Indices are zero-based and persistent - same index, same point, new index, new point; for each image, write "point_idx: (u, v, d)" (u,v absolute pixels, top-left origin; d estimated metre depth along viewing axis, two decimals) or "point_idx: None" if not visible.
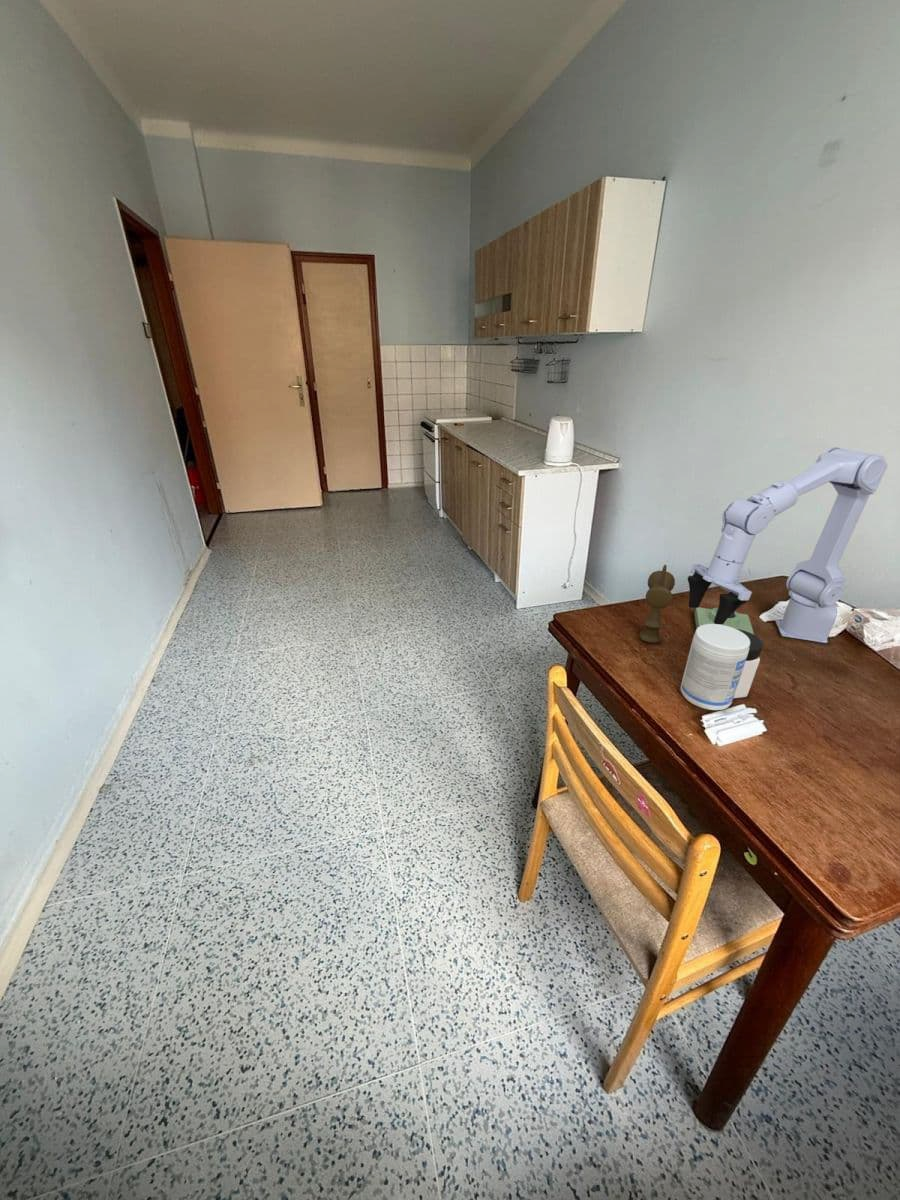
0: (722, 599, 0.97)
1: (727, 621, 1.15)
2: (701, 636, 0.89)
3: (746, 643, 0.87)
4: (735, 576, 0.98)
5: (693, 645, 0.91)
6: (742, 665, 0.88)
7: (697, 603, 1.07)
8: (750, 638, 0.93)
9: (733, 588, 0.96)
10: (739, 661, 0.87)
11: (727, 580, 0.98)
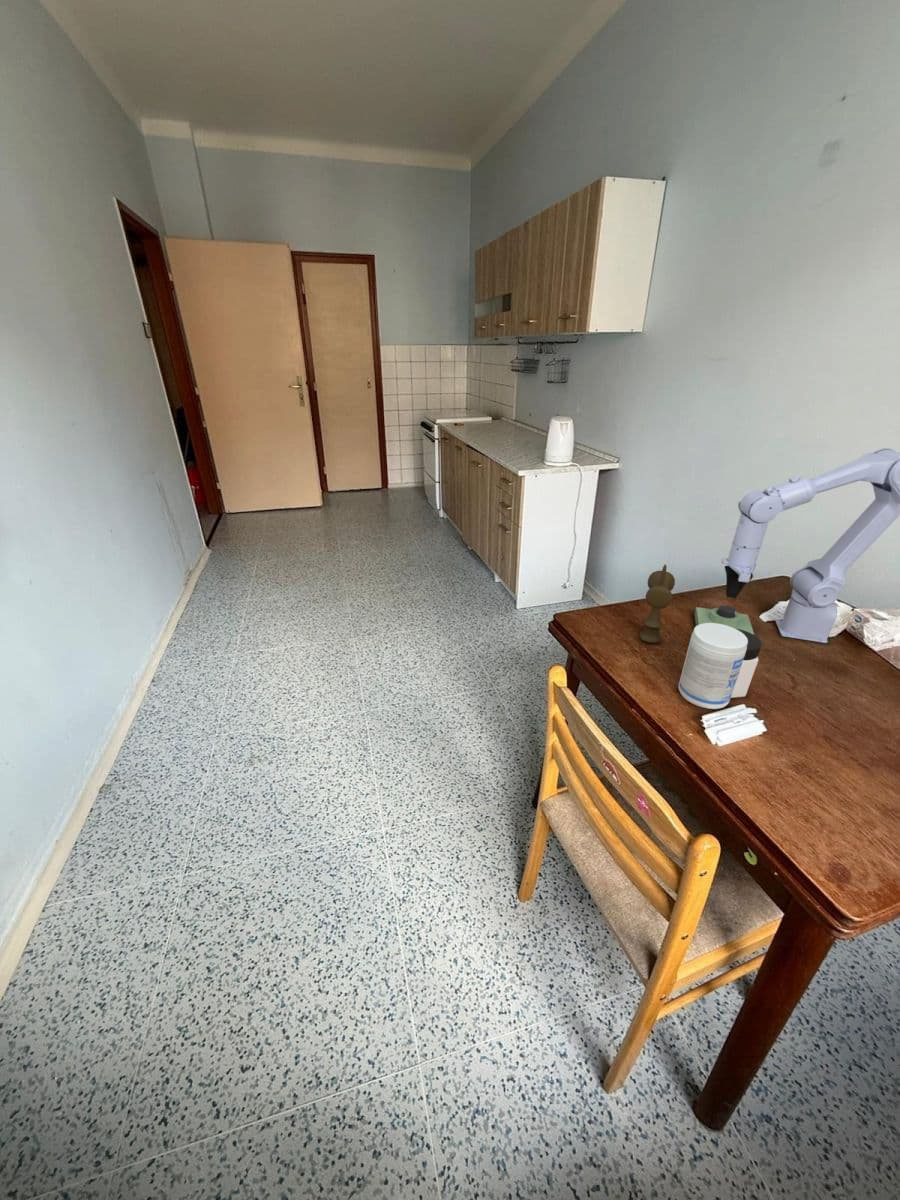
0: None
1: (727, 621, 1.15)
2: (698, 634, 0.90)
3: (743, 643, 0.87)
4: (747, 561, 1.08)
5: (691, 644, 0.92)
6: (739, 664, 0.88)
7: None
8: (749, 638, 0.93)
9: (736, 570, 1.07)
10: (736, 660, 0.87)
11: (738, 563, 1.09)
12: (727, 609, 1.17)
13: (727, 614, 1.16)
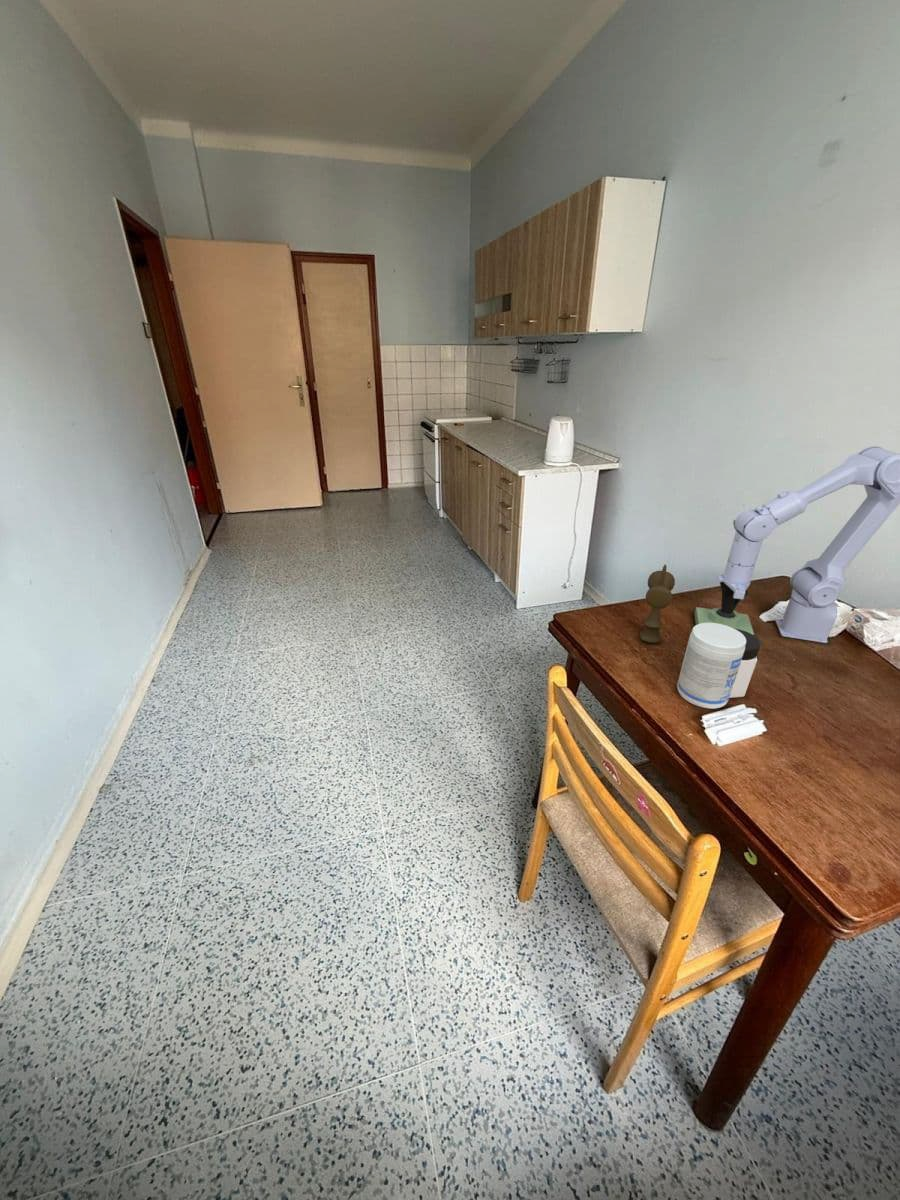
0: None
1: (727, 621, 1.15)
2: (697, 634, 0.90)
3: (741, 642, 0.87)
4: (741, 578, 1.10)
5: (689, 643, 0.92)
6: (737, 664, 0.88)
7: None
8: (748, 638, 0.93)
9: (731, 587, 1.09)
10: (734, 660, 0.87)
11: (733, 580, 1.11)
12: None
13: (726, 617, 1.16)
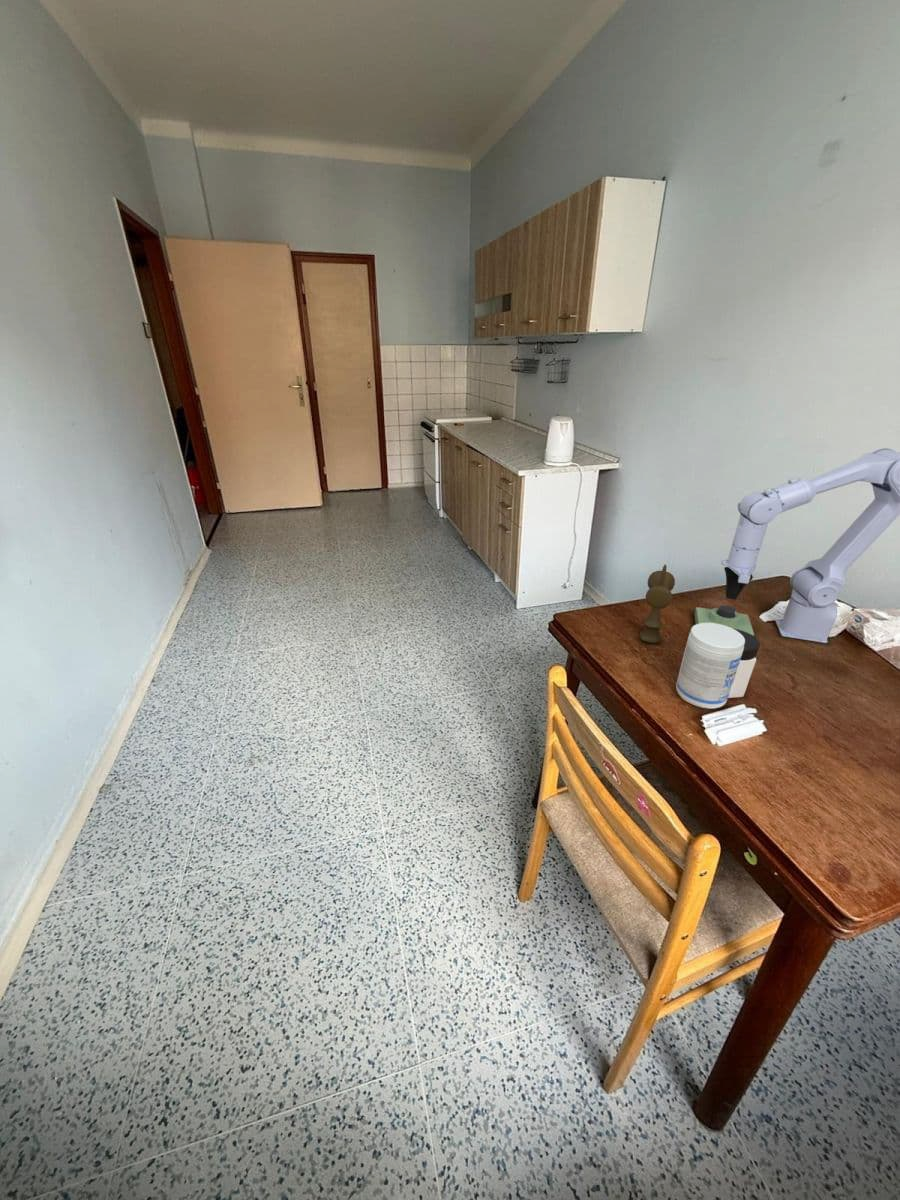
0: (726, 575, 1.12)
1: (727, 621, 1.15)
2: (695, 634, 0.90)
3: (740, 643, 0.87)
4: (746, 562, 1.08)
5: (688, 643, 0.92)
6: (736, 664, 0.88)
7: None
8: (747, 638, 0.93)
9: (736, 571, 1.08)
10: (732, 660, 0.87)
11: (737, 565, 1.09)
12: (727, 609, 1.17)
13: (727, 614, 1.16)
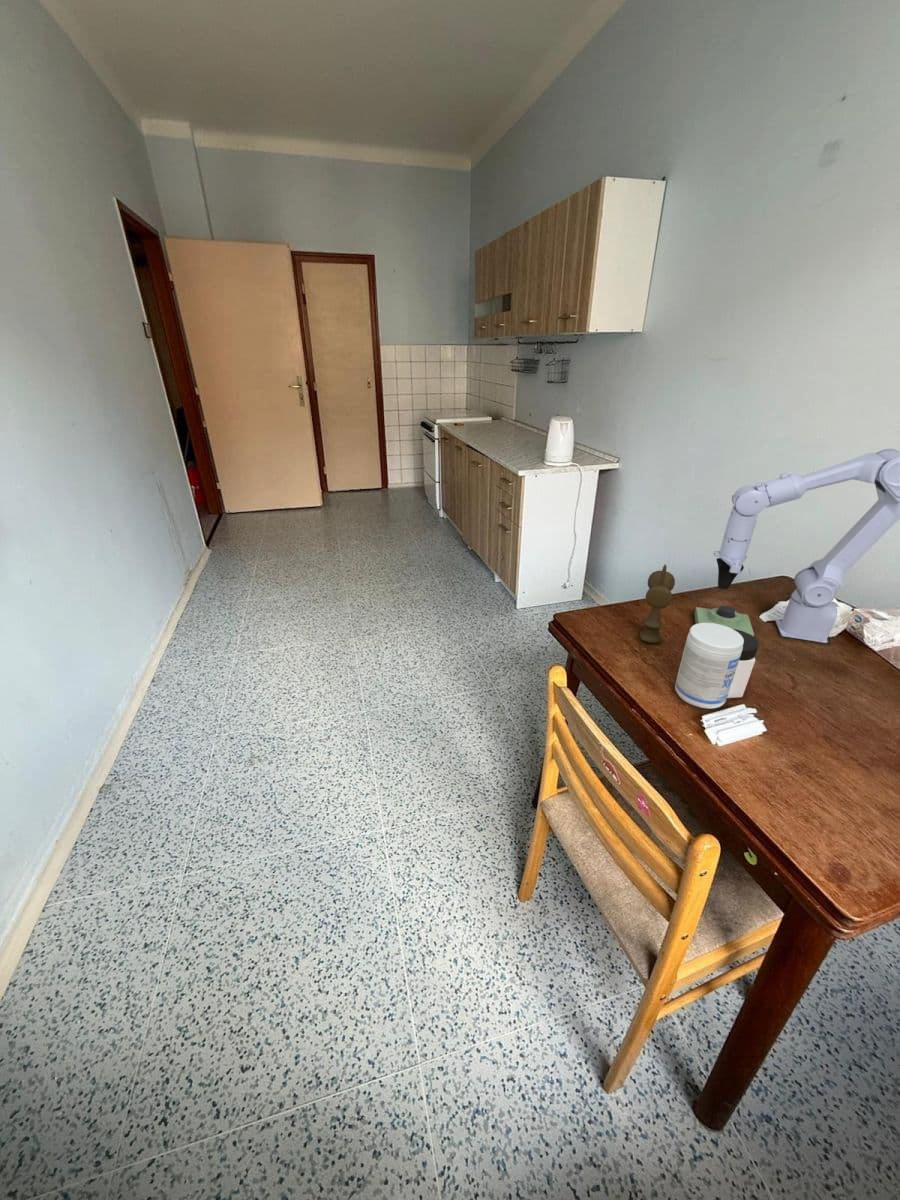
0: None
1: (727, 621, 1.15)
2: (694, 634, 0.90)
3: (739, 643, 0.87)
4: (737, 553, 1.12)
5: (687, 643, 0.92)
6: (735, 664, 0.88)
7: None
8: (746, 638, 0.93)
9: (728, 562, 1.11)
10: (731, 660, 0.87)
11: (729, 556, 1.13)
12: (727, 609, 1.17)
13: (727, 614, 1.16)
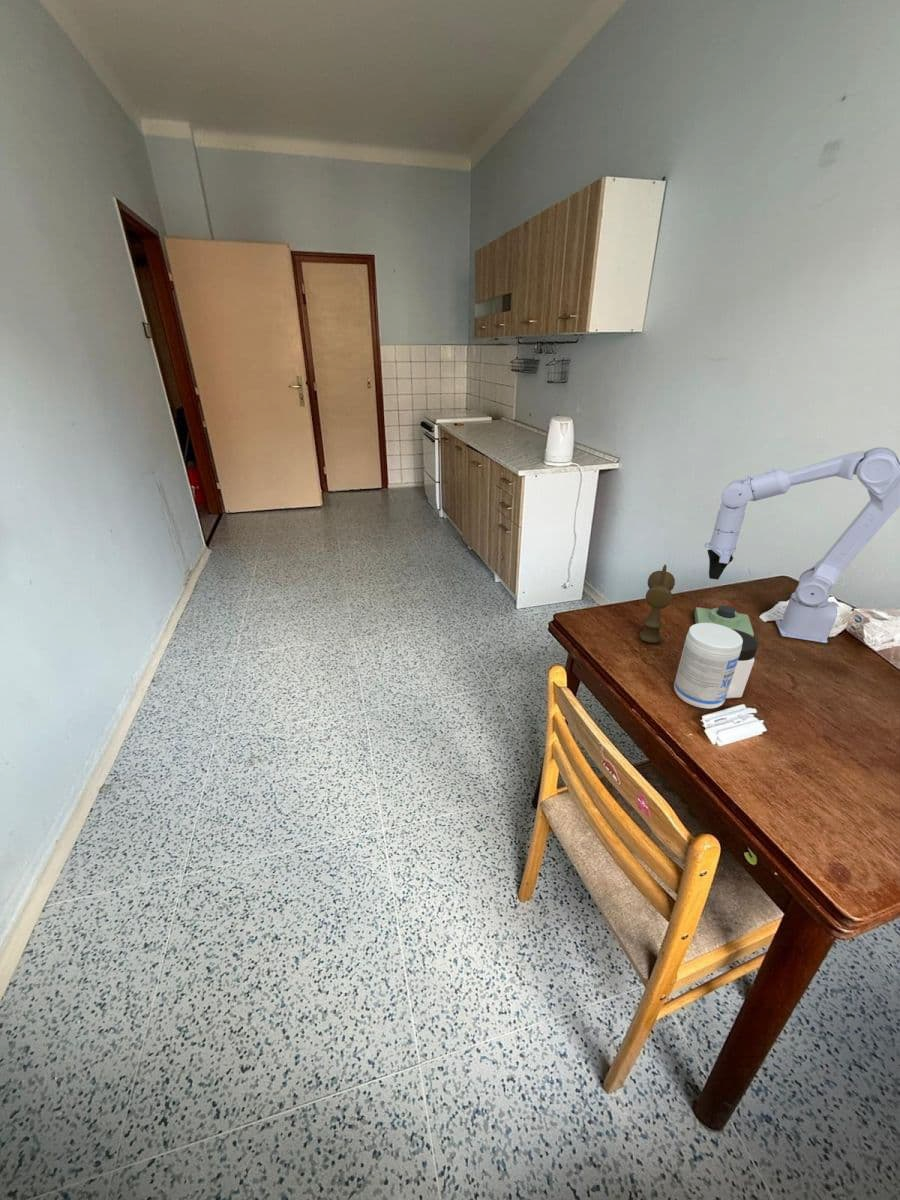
0: None
1: (727, 621, 1.15)
2: (693, 633, 0.90)
3: (738, 643, 0.87)
4: (727, 544, 1.17)
5: (686, 643, 0.92)
6: (733, 664, 0.88)
7: None
8: (746, 638, 0.93)
9: (717, 553, 1.17)
10: (730, 660, 0.87)
11: (719, 547, 1.18)
12: (727, 609, 1.17)
13: (727, 614, 1.16)
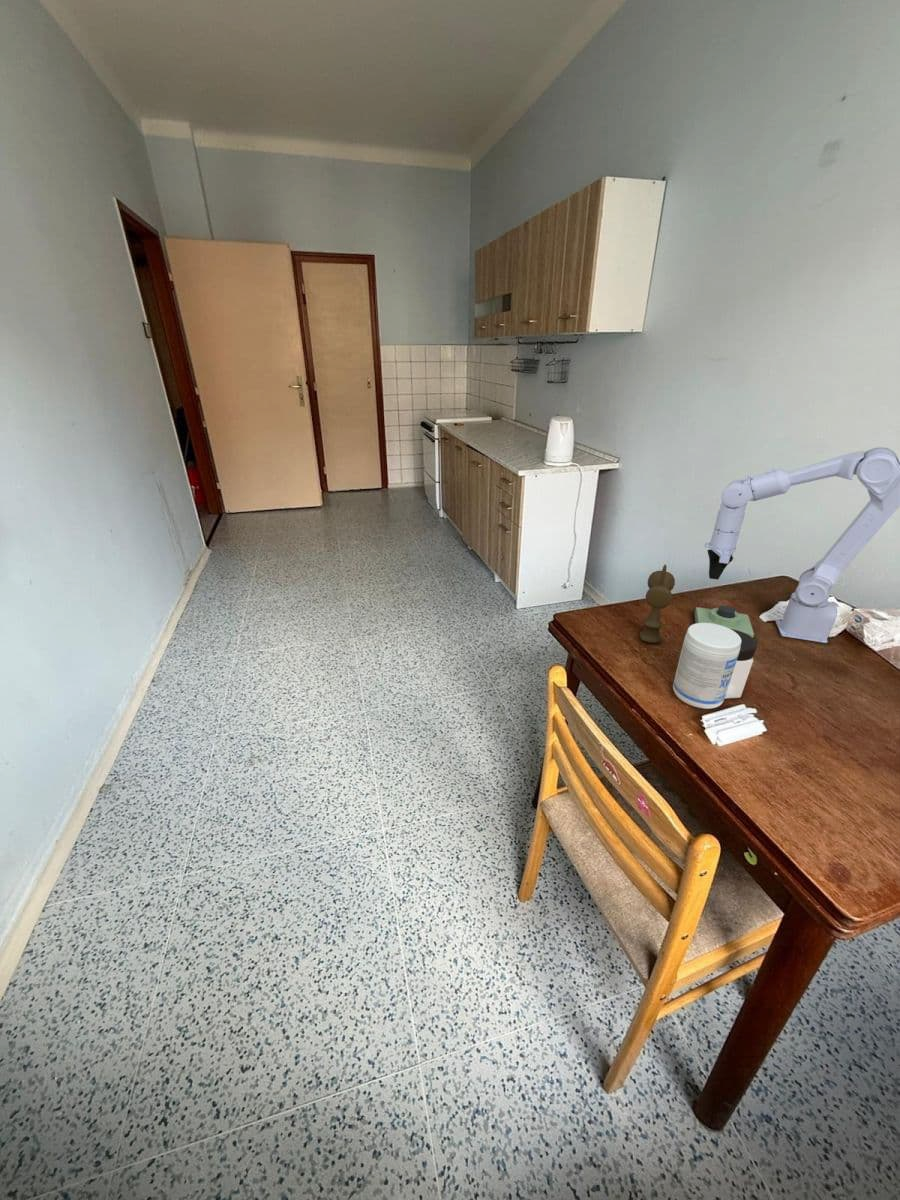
0: None
1: (727, 621, 1.15)
2: (692, 633, 0.90)
3: (736, 643, 0.87)
4: (727, 544, 1.17)
5: (684, 643, 0.92)
6: (732, 664, 0.88)
7: None
8: (745, 639, 0.93)
9: (717, 553, 1.17)
10: (728, 660, 0.87)
11: (719, 547, 1.18)
12: (727, 609, 1.17)
13: (727, 614, 1.16)
